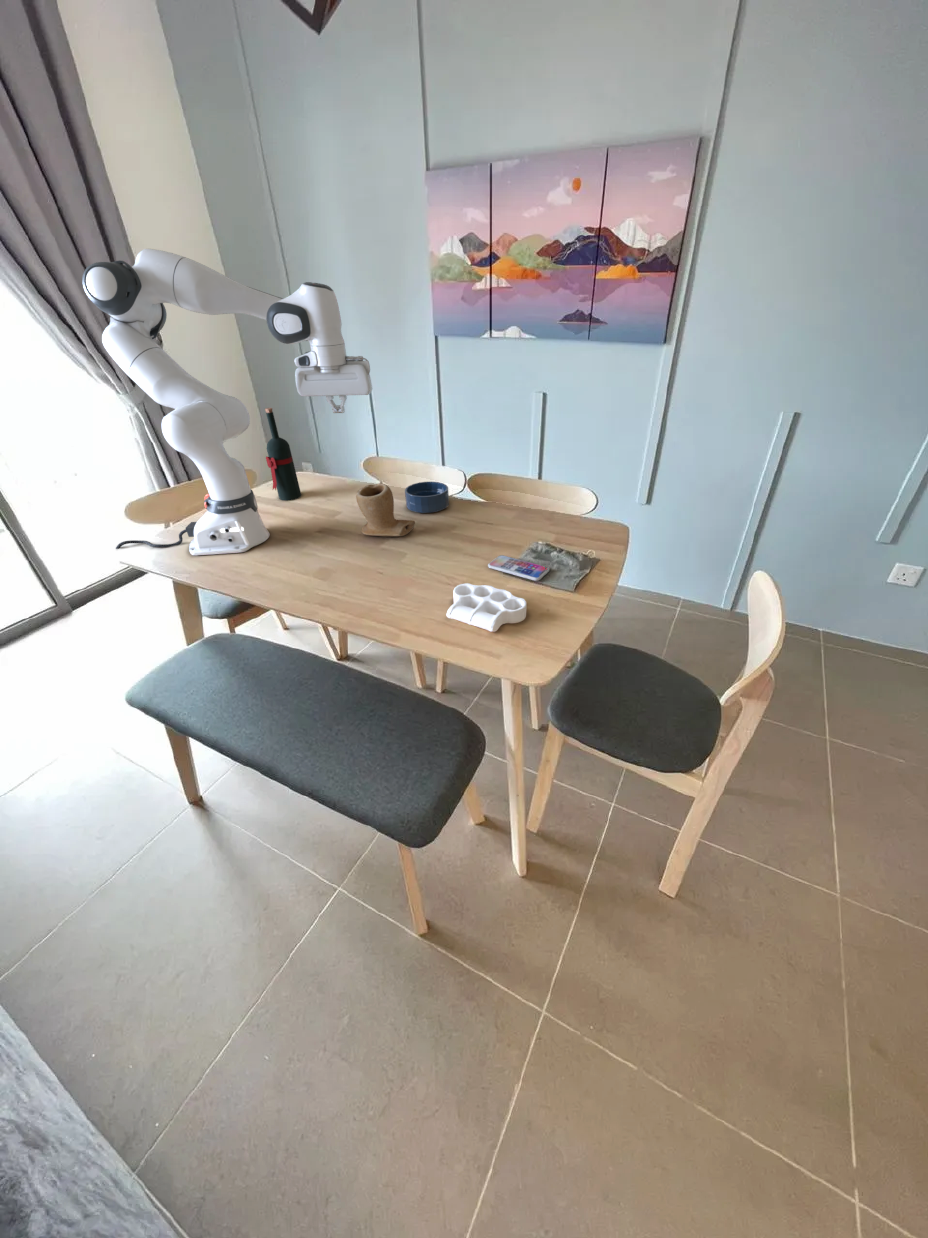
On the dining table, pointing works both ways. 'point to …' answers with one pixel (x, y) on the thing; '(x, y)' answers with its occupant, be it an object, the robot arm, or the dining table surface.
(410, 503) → the bowl
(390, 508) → the stone cup
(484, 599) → the knuckle duster
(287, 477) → the wine bottle
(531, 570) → the smartphone
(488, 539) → the dining table surface
